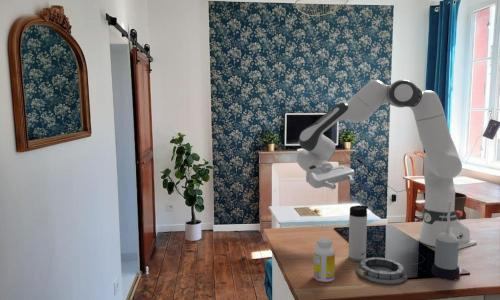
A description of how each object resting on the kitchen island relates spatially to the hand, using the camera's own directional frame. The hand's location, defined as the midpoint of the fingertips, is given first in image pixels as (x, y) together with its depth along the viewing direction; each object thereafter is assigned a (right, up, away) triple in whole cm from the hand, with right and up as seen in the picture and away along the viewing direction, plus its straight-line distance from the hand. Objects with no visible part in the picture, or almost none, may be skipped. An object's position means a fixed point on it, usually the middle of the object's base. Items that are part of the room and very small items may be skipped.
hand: (343, 184), depth 148 cm
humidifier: (+28, -28, -24) cm, 46 cm away
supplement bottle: (-13, -28, -27) cm, 41 cm away
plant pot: (+56, -23, +27) cm, 66 cm away
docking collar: (+7, -28, -24) cm, 37 cm away
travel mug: (+2, -27, -10) cm, 29 cm away
